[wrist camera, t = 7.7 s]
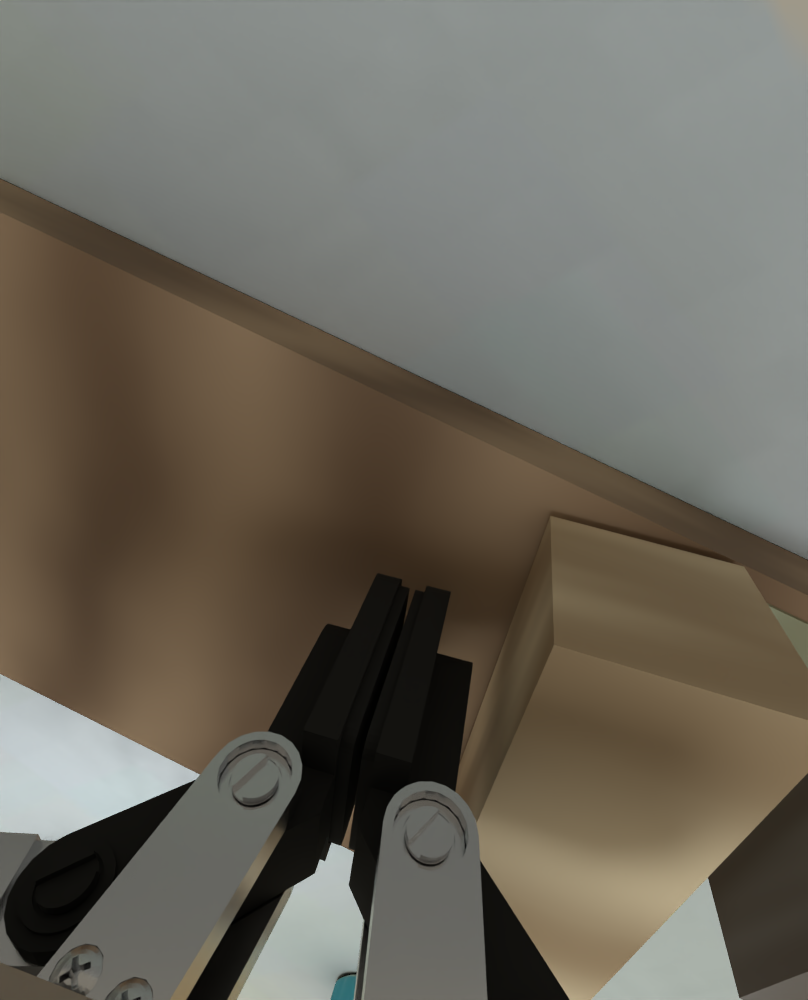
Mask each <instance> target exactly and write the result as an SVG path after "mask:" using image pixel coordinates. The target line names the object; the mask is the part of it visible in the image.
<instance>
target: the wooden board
mask: <svg viewBox="0 0 808 1000" xmlns="http://www.w3.org/2000/svg"><path fill="white" fill-rule="evenodd" d="M550 516H553V517H557V518H561V519H565V520H569V521H572V522H576V523H580V524H584V525H588V526H591V527H595V528H599V529H603V530H607V531H610V532H614V533H618V534H622V535H626V536H629V537H633V538H637V539H641V540H645V541H648V542H652V543H656V544H660V545H664V546H667V547H671V548H675V549H679V550H683V551H687V552H690V553H694V554H698V555H702V556H706V557H709V558H713V559H717V560H721V561H725V562H728V563H732V564H736V565H740V566H744V567H745V569H746V570H747V572H748V574H749V575H750V577H751V579H752V580H753V582H754V583H755V585H756V587H757V588H758V590H759V591H760V593H761V595H762V596H763V598H764V599H765V601H766V603H767V604H768V606H769V607H770V609H771V611H772V612H773V614H774V615H775V617H776V619H777V620H778V622H779V623H780V625H781V627H782V628H783V630H784V631H785V633H786V635H787V636H788V638H789V640H790V641H791V643H792V644H793V646H794V648H795V649H796V651H797V652H798V654H799V656H800V657H801V659H802V660H803V662H804V664H805V665H806V667H807V668H808V560H806V559H804V558H802V557H800V556H798V555H795V554H793V553H791V552H789V551H787V550H785V549H783V548H781V547H779V546H776V545H774V544H772V543H770V542H768V541H766V540H764V539H762V538H759V537H757V536H755V535H753V534H751V533H749V532H747V531H745V530H743V529H740V528H738V527H736V526H734V525H732V524H730V523H728V522H726V521H723V520H721V519H719V518H717V517H715V516H713V515H711V514H709V513H707V512H704V511H702V510H700V509H698V508H696V507H694V506H692V505H690V504H687V503H685V502H683V501H681V500H679V499H677V498H675V497H673V496H671V495H668V494H666V493H664V492H662V491H660V490H658V489H656V488H654V487H652V486H649V485H647V484H645V483H643V482H641V481H639V480H637V479H635V478H632V477H630V476H628V475H626V474H624V473H622V472H620V471H618V470H616V469H613V468H611V467H609V466H607V465H605V464H603V463H601V462H599V461H596V460H594V459H592V458H590V457H588V456H586V455H584V454H582V453H580V452H577V451H575V450H573V449H571V448H569V447H567V446H565V445H563V444H560V443H558V442H556V441H554V440H552V439H550V438H548V437H546V436H544V435H541V434H539V433H537V432H535V431H533V430H531V429H529V428H527V427H525V426H522V425H520V424H518V423H516V422H514V421H512V420H510V419H508V418H505V417H503V416H501V415H499V414H497V413H495V412H493V411H491V410H489V409H486V408H484V407H482V406H480V405H478V404H476V403H474V402H472V401H469V400H467V399H465V398H463V397H461V396H459V395H457V394H455V393H453V392H450V391H448V390H446V389H444V388H442V387H440V386H438V385H436V384H433V383H431V382H429V381H427V380H425V379H423V378H421V377H419V376H417V375H414V374H412V373H410V372H408V371H406V370H404V369H402V368H400V367H398V366H395V365H393V364H391V363H389V362H387V361H385V360H383V359H381V358H378V357H376V356H374V355H372V354H370V353H368V352H366V351H364V350H362V349H359V348H357V347H355V346H353V345H351V344H349V343H347V342H345V341H342V340H340V339H338V338H336V337H334V336H332V335H330V334H328V333H326V332H323V331H321V330H319V329H317V328H315V327H313V326H311V325H309V324H306V323H304V322H302V321H300V320H298V319H296V318H294V317H292V316H290V315H287V314H285V313H283V312H281V311H279V310H277V309H275V308H273V307H270V306H268V305H266V304H264V303H262V302H260V301H258V300H256V299H254V298H251V297H249V296H247V295H245V294H243V293H241V292H239V291H237V290H235V289H232V288H230V287H228V286H226V285H224V284H222V283H220V282H218V281H215V280H213V279H211V278H209V277H207V276H205V275H203V274H201V273H199V272H196V271H194V270H192V269H190V268H188V267H186V266H184V265H182V264H179V263H177V262H175V261H173V260H171V259H169V258H167V257H165V256H163V255H160V254H158V253H156V252H154V251H152V250H150V249H148V248H146V247H143V246H141V245H139V244H137V243H135V242H133V241H131V240H129V239H127V238H124V237H122V236H120V235H118V234H116V233H114V232H112V231H110V230H108V229H105V228H103V227H101V226H99V225H97V224H95V223H93V222H91V221H88V220H86V219H84V218H82V217H80V216H78V215H76V214H74V213H72V212H69V211H67V210H65V209H63V208H61V207H59V206H57V205H55V204H52V203H50V202H48V201H46V200H44V199H42V198H40V197H38V196H36V195H33V194H31V193H29V192H27V191H25V190H23V189H21V188H19V187H16V186H14V185H12V184H10V183H8V182H6V181H4V180H2V179H0V674H2V675H4V676H6V677H8V678H10V679H12V680H14V681H16V682H18V683H20V684H22V685H24V686H26V687H28V688H30V689H31V690H33V691H35V692H37V693H39V694H41V695H43V696H45V697H47V698H49V699H51V700H53V701H55V702H57V703H59V704H61V705H63V706H65V707H67V708H69V709H71V710H73V711H75V712H77V713H79V714H81V715H83V716H85V717H87V718H89V719H91V720H93V721H95V722H97V723H99V724H101V725H103V726H105V727H107V728H109V729H111V730H113V731H115V732H117V733H119V734H121V735H123V736H125V737H127V738H129V739H131V740H133V741H135V742H137V743H139V744H141V745H143V746H145V747H147V748H149V749H151V750H153V751H154V752H156V753H158V754H160V755H162V756H164V757H166V758H168V759H170V760H172V761H174V762H176V763H178V764H180V765H182V766H184V767H186V768H188V769H190V770H192V771H194V772H196V773H198V774H201V773H202V772H203V771H204V769H205V768H206V767H207V766H208V764H209V763H210V762H211V761H212V759H213V758H214V757H215V756H216V755H217V753H218V752H219V751H220V750H221V749H223V748H224V747H225V746H226V745H227V744H228V743H229V742H231V741H233V740H234V739H236V738H238V737H240V736H241V735H245V734H249V733H252V732H268V730H269V728H270V726H271V724H272V722H273V720H274V719H275V717H276V715H277V713H278V711H279V709H280V708H281V706H282V704H283V702H284V700H285V698H286V696H287V695H288V693H289V691H290V689H291V687H292V685H293V684H294V682H295V680H296V678H297V676H298V674H299V672H300V671H301V669H302V667H303V665H304V663H305V661H306V659H307V658H308V656H309V654H310V652H311V650H312V648H313V647H314V645H315V643H316V641H317V639H318V637H319V635H320V634H321V632H322V630H323V629H324V627H325V626H326V625H327V624H332V625H336V626H340V627H343V628H347V629H351V627H352V625H353V623H354V621H355V619H356V617H357V615H358V612H359V610H360V608H361V606H362V604H363V602H364V600H365V598H366V595H367V593H368V591H369V589H370V587H371V585H372V583H373V580H374V578H375V576H376V575H377V573H380V574H384V575H388V576H392V577H396V578H400V579H402V585H401V586H404V587H408V588H410V591H409V597H408V602H407V608H406V614H405V619H406V616H407V613H408V610H409V607H410V604H411V601H412V598H413V595H414V592H415V590H419V591H423V592H425V589H426V586H431V587H435V588H439V589H443V590H447V591H451V594H450V599H449V603H448V607H447V612H446V616H445V620H444V625H443V629H442V634H441V638H440V642H439V647H438V651H437V653H439V654H443V655H446V656H450V657H454V658H458V659H461V660H465V661H469V662H472V663H473V667H472V675H471V683H470V690H469V697H468V704H467V712H466V719H465V726H464V734H463V741H462V748H461V755H460V762H461V759H462V757H463V754H464V751H465V749H466V746H467V743H468V740H469V738H470V735H471V732H472V729H473V727H474V724H475V721H476V718H477V716H478V713H479V710H480V707H481V705H482V702H483V699H484V696H485V694H486V691H487V688H488V685H489V683H490V680H491V677H492V674H493V672H494V669H495V666H496V664H497V661H498V658H499V655H500V653H501V650H502V647H503V644H504V642H505V639H506V636H507V633H508V631H509V628H510V625H511V622H512V620H513V617H514V614H515V611H516V609H517V606H518V603H519V600H520V598H521V595H522V592H523V589H524V587H525V584H526V581H527V579H528V576H529V573H530V570H531V568H532V565H533V562H534V559H535V557H536V554H537V551H538V548H539V546H540V543H541V540H542V537H543V535H544V532H545V529H546V526H547V524H548V521H549V518H550ZM405 619H404V622H405ZM459 765H460V763H459ZM354 807H355V805H354ZM353 813H354V808H353V811H352V815H351V818H350V821H349V824H348V827H347V831H346V834H345V837H344V840H343V842H342V845H341V846H343V847H345V848H347V849H349V841H350V834H351V827H352V820H353ZM349 850H351V851H353V852H354V850H352V849H349ZM708 879H709V883H710V887H711V891H712V894H713V898H714V902H715V906H716V910H717V914H718V917H719V921H720V925H721V929H722V933H723V937H724V940H725V944H726V948H727V952H728V956H729V960H730V963H731V967H732V971H733V975H734V979H735V983H736V987H737V990H738V994H739V998H741V999H743V1000H808V773H807V774H806V775H805V776H804V778H803V779H802V780H801V781H800V782H799V783H798V784H797V785H796V786H795V787H794V788H793V789H792V790H791V791H790V792H789V793H788V794H787V795H786V796H785V797H784V798H783V799H782V800H781V802H780V803H779V804H778V805H777V806H776V807H775V808H774V809H773V810H772V811H771V812H770V813H769V814H768V815H767V816H766V817H765V818H764V819H763V820H762V821H761V822H760V823H759V825H758V826H757V827H756V828H755V829H754V830H753V831H752V832H751V833H750V834H749V835H748V836H747V837H746V838H745V839H744V840H743V841H742V842H741V843H740V844H739V845H738V846H737V847H736V849H735V850H734V851H733V852H732V853H731V854H730V855H729V856H728V857H727V858H726V859H725V860H724V861H723V862H722V863H721V864H720V865H719V866H718V867H717V868H716V869H715V870H714V872H713V873H712V874H711V875H710V876H709V877H708Z"/></svg>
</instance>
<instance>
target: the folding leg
mask: <svg viewBox="0 0 808 1000" xmlns="http://www.w3.org/2000/svg"><path fill="white" fill-rule="evenodd" d="M807 773H808V668H807V667H806V665H805V664H804V662H803V660H802V659H801V657H800V656H799V654H798V652H797V651H796V649H795V648H794V646H793V644H792V643H791V641H790V640H789V638H788V636H787V635H786V633H785V631H784V630H783V628H782V627H781V625H780V623H779V622H778V620H777V619H776V617H775V615H774V614H773V612H772V611H771V609H770V607H769V606H768V604H767V603H766V601H765V599H764V598H763V596H762V595H761V593H760V591H759V590H758V588H757V587H756V585H755V583H754V582H753V580H752V579H751V577H750V575H749V574H748V572H747V570H746V569H745V567H744V566H740V565H736V564H732V563H728V562H725V561H721V560H717V559H713V558H709V557H706V556H702V555H698V554H694V553H690V552H687V551H683V550H679V549H675V548H671V547H667V546H664V545H660V544H656V543H652V542H648V541H645V540H641V539H637V538H633V537H629V536H626V535H622V534H618V533H614V532H610V531H607V530H603V529H599V528H595V527H591V526H588V525H584V524H580V523H576V522H572V521H569V520H565V519H561V518H557V517H553V516H550V518H549V521H548V524H547V526H546V529H545V532H544V535H543V537H542V540H541V543H540V546H539V548H538V551H537V554H536V557H535V559H534V562H533V565H532V568H531V570H530V573H529V576H528V579H527V581H526V584H525V587H524V589H523V592H522V595H521V598H520V600H519V603H518V606H517V609H516V611H515V614H514V617H513V620H512V622H511V625H510V628H509V631H508V633H507V636H506V639H505V642H504V644H503V647H502V650H501V653H500V655H499V658H498V661H497V664H496V666H495V669H494V672H493V674H492V677H491V680H490V683H489V685H488V688H487V691H486V694H485V696H484V699H483V702H482V705H481V707H480V710H479V713H478V716H477V718H476V721H475V724H474V727H473V729H472V732H471V735H470V738H469V740H468V743H467V746H466V749H465V751H464V754H463V757H462V759H461V762H460V765H459V770H458V777H457V784H456V793H457V794H459V795H460V797H461V798H462V799H463V800H464V801H465V802H466V803H467V805H468V806H469V808H470V810H471V812H472V814H473V816H474V818H475V820H476V824H477V829H478V835H479V849H480V861H481V862H482V864H483V865H484V867H485V868H486V870H487V872H488V873H489V875H490V876H491V878H492V879H493V881H494V882H495V884H496V886H497V887H498V889H499V890H500V892H501V893H502V895H503V896H504V898H505V900H506V901H507V903H508V904H509V906H510V907H511V909H512V910H513V912H514V914H515V915H516V917H517V918H518V920H519V921H520V923H521V924H522V926H523V928H524V929H525V931H526V932H527V934H528V935H529V937H530V938H531V940H532V942H533V943H534V945H535V946H536V948H537V949H538V951H539V952H540V954H541V956H542V957H543V959H544V960H545V962H546V963H547V965H548V966H549V968H550V970H551V971H552V973H553V974H554V976H555V977H556V979H557V980H558V982H559V984H560V985H561V987H562V988H563V990H564V991H565V993H566V994H567V996H568V998H569V999H570V1000H591V999H592V998H593V997H594V996H595V995H596V994H597V993H598V992H599V991H600V990H601V988H602V987H603V986H604V985H605V984H606V983H607V982H608V981H609V980H610V979H611V978H612V977H613V976H614V975H615V974H616V973H617V972H618V971H619V970H620V969H621V968H622V967H623V966H624V964H625V963H626V962H627V961H628V960H629V959H630V958H631V957H632V956H633V955H634V954H635V953H636V952H637V951H638V950H639V949H640V948H641V947H642V946H643V945H644V944H645V943H646V941H647V940H648V939H649V938H650V937H651V936H652V935H653V934H654V933H655V932H656V931H657V930H658V929H659V928H660V927H661V926H662V925H663V924H664V923H665V922H666V921H667V920H668V919H669V917H670V916H671V915H672V914H673V913H674V912H675V911H676V910H677V909H678V908H679V907H680V906H681V905H682V904H683V903H684V902H685V901H686V900H687V899H688V898H689V897H690V896H691V894H692V893H693V892H694V891H695V890H696V889H697V888H698V887H699V886H700V885H701V884H702V883H703V882H704V881H705V880H706V879H707V878H708V877H709V876H710V875H711V874H712V873H713V872H714V870H715V869H716V868H717V867H718V866H719V865H720V864H721V863H722V862H723V861H724V860H725V859H726V858H727V857H728V856H729V855H730V854H731V853H732V852H733V851H734V850H735V849H736V847H737V846H738V845H739V844H740V843H741V842H742V841H743V840H744V839H745V838H746V837H747V836H748V835H749V834H750V833H751V832H752V831H753V830H754V829H755V828H756V827H757V826H758V825H759V823H760V822H761V821H762V820H763V819H764V818H765V817H766V816H767V815H768V814H769V813H770V812H771V811H772V810H773V809H774V808H775V807H776V806H777V805H778V804H779V803H780V802H781V800H782V799H783V798H784V797H785V796H786V795H787V794H788V793H789V792H790V791H791V790H792V789H793V788H794V787H795V786H796V785H797V784H798V783H799V782H800V781H801V780H802V779H803V778H804V776H805V775H806V774H807Z"/></svg>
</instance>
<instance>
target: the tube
mask: <svg viewBox="0 0 808 1000" xmlns="http://www.w3.org/2000/svg"><path fill="white" fill-rule="evenodd" d="M355 983H356V975H348V976H344V977H342V978H340V979H339V980H338V981H336V984H335V987H334V990H333V993H332V997H331V1000H353V999H354V991H355Z"/></svg>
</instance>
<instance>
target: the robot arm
mask: <svg viewBox="0 0 808 1000" xmlns="http://www.w3.org/2000/svg"><path fill="white" fill-rule="evenodd" d="M401 585H402V579H400V578H396V577H392V576H388V575H384V574H380V573H377V575H376V576H375V578H374V580H373V583H372V585H371V587H370V589H369V591H368V593H367V595H366V598H365V600H364V602H363V604H362V606H361V608H360V610H359V612H358V615H357V617H356V619H355V621H354V623H353V625H352V627H351V629H347V628H343V627H340V626H336V625H332V624H327V625H326V626H325V627H324V629H323V630H322V632H321V634H320V635H319V637H318V639H317V641H316V643H315V645H314V647H313V648H312V650H311V652H310V654H309V656H308V658H307V659H306V661H305V663H304V665H303V667H302V669H301V671H300V672H299V674H298V676H297V678H296V680H295V682H294V684H293V685H292V687H291V689H290V691H289V693H288V695H287V696H286V698H285V700H284V702H283V704H282V706H281V708H280V709H279V711H278V713H277V715H276V717H275V719H274V720H273V722H272V724H271V726H270V728H269V730H268V732H252V733H249V734H245V735H241V736H240V737H238V738H236V739H234V740H233V741H231V742H229V743H228V744H227V745H226V746H225V747H224V748H223V749H221V750H220V751H219V752H218V753H217V755H216V756H215V757H214V758H213V759H212V761H211V762H210V763H209V764H208V766H207V767H206V768H205V769H204V771H203V772H202V773H201V774H200V775H199V777H198V778H197V779H196V780H194V781H192V782H189V783H187V784H185V785H182V786H180V787H178V788H175V789H173V790H171V791H168V792H166V793H164V794H161V795H159V796H157V797H154V798H152V799H150V800H147V801H145V802H143V803H140V804H138V805H136V806H133V807H131V808H129V809H126V810H124V811H122V812H119V813H117V814H115V815H112V816H110V817H108V818H105V819H103V820H101V821H98V822H96V823H94V824H91V825H89V826H87V827H84V828H82V829H80V830H77V831H75V832H73V833H70V834H68V835H66V836H64V837H62V838H61V839H59V840H57V841H47V840H41V839H40V837H39V835H38V834H25V833H6V832H0V1000H237V998H238V996H239V994H240V992H241V990H242V988H243V986H244V984H245V982H246V980H247V978H248V976H249V975H250V973H251V971H252V969H253V967H254V965H255V963H256V961H257V959H258V957H259V955H260V953H261V951H262V949H263V947H264V945H265V944H266V942H267V940H268V938H269V936H270V934H271V932H272V930H273V928H274V926H275V924H276V922H277V920H278V918H279V916H280V915H281V913H282V911H283V909H284V907H285V905H286V903H287V901H288V899H289V897H290V895H291V893H292V890H293V887H294V885H296V884H297V883H299V882H301V881H302V880H304V879H306V878H307V877H309V876H311V875H313V874H314V873H315V871H316V868H317V865H318V862H319V859H321V860H324V861H325V860H326V857H327V854H328V851H329V848H330V845H331V842H332V843H335V844H338V845H342V842H343V840H344V837H345V834H346V831H347V827H348V824H349V821H350V818H351V815H352V811H353V808H354V813H353V820H352V827H351V834H350V841H349V849H352V850H354V857H353V863H352V869H351V876H350V882H349V887H350V889H351V891H352V893H353V896H354V898H355V900H356V903H357V905H358V907H359V909H360V912H361V914H362V916H363V925H362V934H361V942H360V950H359V958H358V967H357V975H356V983H355V991H354V999H353V1000H570V999H569V998H568V996H567V994H566V993H565V991H564V990H563V988H562V987H561V985H560V984H559V982H558V980H557V979H556V977H555V976H554V974H553V973H552V971H551V970H550V968H549V966H548V965H547V963H546V962H545V960H544V959H543V957H542V956H541V954H540V952H539V951H538V949H537V948H536V946H535V945H534V943H533V942H532V940H531V938H530V937H529V935H528V934H527V932H526V931H525V929H524V928H523V926H522V924H521V923H520V921H519V920H518V918H517V917H516V915H515V914H514V912H513V910H512V909H511V907H510V906H509V904H508V903H507V901H506V900H505V898H504V896H503V895H502V893H501V892H500V890H499V889H498V887H497V886H496V884H495V882H494V881H493V879H492V878H491V876H490V875H489V873H488V872H487V870H486V868H485V867H484V865H483V864H482V862H481V861H480V849H479V835H478V829H477V824H476V820H475V818H474V816H473V814H472V812H471V810H470V808H469V806H468V805H467V803H466V802H465V801H464V800H463V799H462V798H461V797H460V795H459V794H457V793H456V784H457V777H458V770H459V763H460V755H461V748H462V741H463V734H464V726H465V719H466V712H467V704H468V697H469V690H470V683H471V675H472V667H473V663H472V662H469V661H465V660H461V659H458V658H454V657H450V656H446V655H443V654H439V653H437V651H438V647H439V642H440V638H441V634H442V629H443V625H444V620H445V616H446V612H447V607H448V603H449V599H450V594H451V591H447V590H443V589H439V588H435V587H431V586H426V589H425V592H423V591H419V590H415V592H414V595H413V598H412V601H411V604H410V607H409V610H408V613H407V616H406V619H405V614H406V608H407V602H408V597H409V591H410V588H408V587H404V586H401ZM404 619H405V622H404ZM354 805H355V807H354Z"/></svg>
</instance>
